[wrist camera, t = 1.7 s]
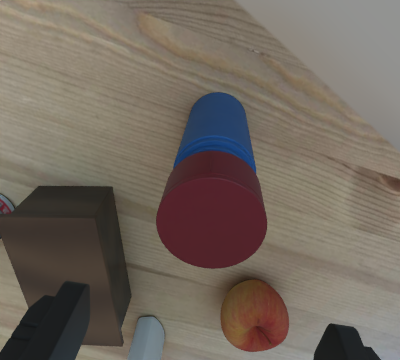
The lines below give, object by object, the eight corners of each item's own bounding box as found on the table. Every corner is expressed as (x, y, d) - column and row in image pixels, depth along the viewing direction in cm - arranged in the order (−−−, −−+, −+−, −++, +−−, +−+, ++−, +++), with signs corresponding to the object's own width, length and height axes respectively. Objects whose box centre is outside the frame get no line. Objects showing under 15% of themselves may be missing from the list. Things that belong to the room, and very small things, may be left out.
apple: (208, 284, 40) (205, 344, 33) (257, 255, 37) (265, 313, 30) (245, 317, 42) (249, 380, 35) (294, 292, 40) (309, 355, 33)
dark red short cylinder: (162, 148, 17) (150, 175, 15) (263, 148, 17) (271, 176, 14) (169, 231, 20) (160, 267, 17) (258, 232, 20) (263, 270, 17)
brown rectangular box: (31, 181, 35) (-7, 216, 29) (117, 182, 34) (95, 218, 28) (66, 297, 43) (41, 343, 37) (136, 299, 42) (122, 346, 36)
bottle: (188, 92, 29) (154, 173, 15) (247, 91, 29) (268, 173, 15) (190, 147, 32) (163, 260, 18) (245, 146, 31) (261, 262, 17)
